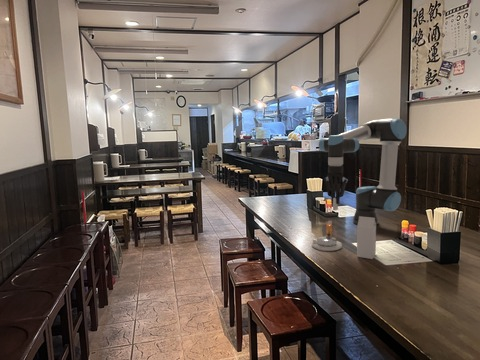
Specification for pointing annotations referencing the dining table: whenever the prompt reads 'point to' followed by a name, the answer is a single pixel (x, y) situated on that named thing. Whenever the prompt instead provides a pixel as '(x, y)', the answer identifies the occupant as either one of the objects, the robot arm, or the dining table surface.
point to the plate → (324, 248)
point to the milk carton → (366, 237)
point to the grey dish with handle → (327, 238)
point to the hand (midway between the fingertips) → (335, 209)
